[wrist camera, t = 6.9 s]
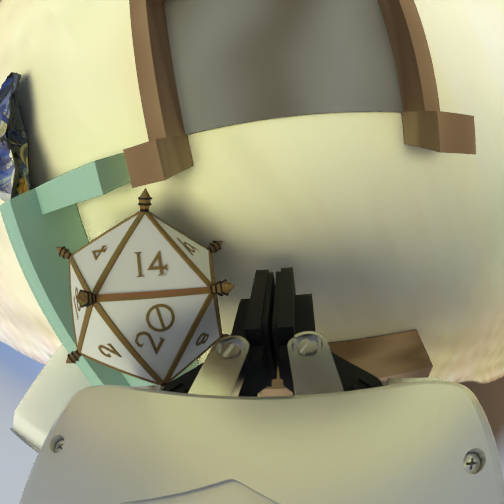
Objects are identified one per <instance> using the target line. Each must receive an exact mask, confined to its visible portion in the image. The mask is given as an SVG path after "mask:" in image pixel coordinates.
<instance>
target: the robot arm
mask: <svg viewBox="0 0 504 504" xmlns="http://www.w3.org/2000/svg"><path fill="white" fill-rule="evenodd" d="M277 369H279V375H280V379H283V385H284V386H285V387H286V388H287V389H289V390H290V391H291V392H293V396H269V397H261V395H262V393H261V391H262V390H263V389H265V388H266V387H272V379H277ZM20 504H504V478H503V473H502V467H501V463H500V458H499V454H498V450H497V447H496V442H495V439H494V436H493V433H492V430H491V427H490V425H489V422H488V420H487V417H486V415H485V413H484V411H483V408H482V407H481V405H480V403H479V401H478V399H477V398H476V396H475V395H474V394H473V393H472V392H471V390H469V389H468V388H467V387H465V386H463V385H461V384H458V383H454V382H449V381H443V380H441V379H439V378H434V377H427V378H388V379H387V381H380V379H378V378H377V377H376V376H374V375H372V374H370V373H369V372H367V371H365V370H363V369H361V368H359V367H358V366H356V365H354V364H352V363H350V362H348V361H347V360H345V359H343V358H341V357H339V356H338V355H336V354H334V353H332V352H331V351H330V348H329V345H328V342H327V340H326V338H325V337H324V336H323V335H322V334H320V333H317V332H315V321H314V311H313V302H312V294H303V295H296V293H295V283H294V274H293V267H290V268H281V272H276V283H275V280H274V274H273V272H270V273H269V270H257V271H256V274H255V279H254V283H253V288H252V293H251V298H250V299H241V300H240V303H239V307H238V311H237V315H236V318H235V322H234V326H233V330H232V334H231V335H230V336H226V337H223V338H221V339H219V340H218V341H217V342H215V344H214V345H213V346H212V348H211V350H210V352H209V354H208V356H207V358H206V360H205V362H204V363H202V364H200V365H199V366H197V367H195V368H193V369H192V370H190V371H188V372H187V373H185V374H183V375H181V376H179V377H178V378H176V379H174V380H172V381H171V382H169V383H168V384H166V385H165V386H164V387H162V386H161V385H149V386H131V387H129V386H121V385H97V386H91V387H87V388H84V389H81V390H79V391H78V392H76V393H75V394H74V395H73V396H72V397H71V398H70V400H69V401H68V402H67V404H66V405H65V406H64V408H63V409H62V411H61V412H60V414H59V416H58V417H57V419H56V421H55V423H54V424H53V426H52V428H51V430H50V431H49V433H48V435H47V437H46V439H45V441H44V443H43V446H42V448H41V450H40V452H39V454H38V456H37V458H36V460H35V463H34V465H33V468H32V470H31V473H30V475H29V478H28V480H27V483H26V486H25V488H24V491H23V494H22V498H21V501H20Z"/></svg>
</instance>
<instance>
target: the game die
mask: <svg viewBox="0 0 504 504" xmlns="http://www.w3.org/2000/svg"><path fill="white" fill-rule="evenodd" d="M138 199H139V203H138V205H140V211H139V212H137V213H136V214H134V215H132V216H131V217H129V218H127V219H126V220H124V221H122V222H121V223H119V224H117V225H116V226H114V227H112V228H111V229H109V230H108V231H106V232H105V233H103V234H101V235H100V236H98V237H97V238H95V239H94V240H92V241H91V242H89V243H88V244H86V245H85V246H83V247H82V248H80V249H79V250H77V251H76V252H74V253H71V252H70V251H69V249H67V248H65V246H64V247H56V249H57V251H58V253H59V256H60V257H61V256H62V257H63V259H68V260H69V282H70V298H71V309H72V319H73V327H74V335H75V341H76V348H77V350H76V351H72V352H71V354H68V355H67V356H68V357H67V360H66V363H74V364H76V362H77V361H79V358H80V356H84V357H86V358H88V359H91V360H93V361H95V362H97V363H100V364H102V365H104V366H107V367H109V368H112V369H114V370H117V371H119V372H122V373H125V374H127V375H130V376H133V377H135V378H138V379H141V380H144V381H147V382H150V383H153V384H156V385H161V386H162V387H164V386H165V385H166V384H168V383H169V382H171V381H172V380H173V379H174V378H176V377H177V376H178V375H179V374H180V373H182V372H183V371H184V370H185V369H186V368H187V367H189V366H190V365H191V364H192V363H193V362H194V361H195V360H197V359H198V358H199V357H200V356H201V355H202V354H203V353H205V352H206V351H207V350H208V349H209V348H210V347H211V346H213V345H214V344H215V342H217V341H218V340H219V339H221V338H223V337H226V336H229V335H228V334H225V335H223V334H222V329H221V321H220V314H219V306H218V299H217V294H218V295H220V296H223V295H227V296H228V295H229V292H230V291H231V290H232V288H233V287H234V285H232V284H231V283H229V282H227V280H226V279H225V280H223V281H222V282H221V281H219V282H217V283H215V276H214V268H213V261H212V253H213V252H214V253H215V252H217V250H220V249H221V244H222V241H213V243H212V244H211V243H210V246H209V247H208V248H206V247H204V246H203V245H201V244H200V243H198V242H196V241H195V240H193V239H192V238H190V237H189V236H187V235H185V234H184V233H182V232H181V231H179V230H177V229H176V228H174V227H173V226H171V225H170V224H168V223H166V222H165V221H163V220H162V219H160V218H159V217H157V216H155V215H154V214H152V213H151V212H149V210H148V209H149V206H150V205H151V203H150V200H151V199H152V198H151V197H150V196H149V194H148V192H147V190H146V188H145V190H144V191H143V193H142V194H141V196H140V197H139V198H138Z"/></svg>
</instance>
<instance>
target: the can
mask: <svg viewBox="0 0 504 504" xmlns="http://www.w3.org/2000/svg"><path fill="white" fill-rule="evenodd" d="M68 354H69V353H68V352H67V350H66V349H65V347H64V346H63V344H61V346H60V347H59V348H58V350H57V351H56V352H55V353H54V355H53V356H52V357H51V359H50V360H49V361H48V363H47V364H46V365H45V367H44V368H43V370H42V371H41V372H40V374H39V375H38V377H37V378H36V379H35V381H34V382H33V384H32V385H31V387H30V388H29V390H28V391H27V393H26V394H25V396H24V397H23V399H22V400H21V402H20V403H19V405H18V407H17V409H16V410H15V412H14V423H13V427H12V428H11V431H12V432H13V433H15V434H16V435H17V436H18V437H19V438H20V439H21V440H22V441H24V442H25V443H26V444H27V445H29V446H30V447H31V448H32V449H34V450H35V451H36V452H38V453H39V452H40V450H41V448H42V446H43V443H44V441H45V439H46V437H47V435H48V433H49V431H50V430H51V428H52V426H53V424H54V423H55V421H56V419H57V417H58V416H59V414H60V412H61V411H62V409H63V408H64V406H65V405H66V404H67V402H68V401H69V400H70V398H71V397H72V396H73V395H74V394H75V393H76V392H78V391H79V390H81V389H84V388H87V387H91V386H92V384H91V383H90V382H89V380H88V379H87V378H86V377H85V375H84V374H83V373H82V371H81V370H80V369H79V367H78V366H77V365H76V364H74V363H66V360H67V357H68V356H67V355H68Z"/></svg>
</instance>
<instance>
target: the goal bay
mask: <svg viewBox="0 0 504 504" xmlns="http://www.w3.org/2000/svg"><path fill="white" fill-rule="evenodd" d="M128 182H130V177H129V173H128V168H127V164H126V160H125V156H124V153H121V154H117V155H114V156H110V157H107V158H103V159H100V160H97V161H94V162H91V163H89V164H86V165H84V166H81V167H79V168H77V169H74V170H72V171H70V172H67V173H65V174H63V175H61V176H59V177H56V178H54V179H52V180H50V181H48V182H46V183H44V184H42V185H40V186H38V187H36V188H34V189H32V190H29V191H27V192H25V193H23V194H21V195H18V196H16V197H14V198H12V199H10V200H8V201H7V202H5V203H3V204H2V205H0V211H1V215H2V218H3V221H4V224H5V227H6V230H7V233H8V236H9V239H10V241H11V244H12V247H13V249H14V252H15V254H16V257H17V259H18V262H19V264H20V266H21V269H22V271H23V273H24V275H25V278H26V280H27V282H28V284H29V286H30V288H31V290H32V292H33V294H34V296H35V298H36V300H37V302H38V304H39V306H40V307H41V309H42V311H43V313H44V315H45V316H46V318H47V320H48V322H49V323H50V325H51V327H52V328H53V330H54V332H55V333H56V335H57V336H58V338H59V340H60V341H61V343H62V344H63V346H64V347H65V349H66V350H67V352H68V353H69V354H71V352H72V351H76V350H77V348H76V341H75V335H74V327H73V319H72V309H71V298H70V282H69V260H68V259H63V257H62V256H61V257H60V256H59V253H58V251H57V249H56V247H64V246H65V248H67V249H69V251H70V252H71V253H74V252H76V251H77V250H79V249H80V248H82V247H83V246H85V245H86V244H88V243H89V242H88V239H87V237H86V234H85V231H84V228H83V225H82V222H81V219H80V216H79V213H78V210H77V206H76V203H78V202H81V201H84V200H87V199H91V198H94V197H97V196H100V195H104V194H106V193H108V192H110V191H112V190H114V189H116V188H118V187H120V186H122V185H124V184H126V183H128ZM198 364H199V363H198V360H195V361H194V362H193V363H192V364H191V365H190V366H189V367H187V368H186V369H185V370H184V371H183V372H182V373H180V374H179V375H178V376H177V377H176V378H178V377H179V376H181V375H183V374H185V373H187V372H188V371H190V370H192V369H193V368H195V367H197V366H198ZM76 365H77V366H78V367H79V369H80V370H81V371H82V373H83V374H84V375H85V377H86V378H87V379H88V380H89V382H90V383H91V384H92V386H97V385H121V386H129V387H130V386H149V385H156V384H153V383H150V382H147V381H144V380H141V379H138V378H135V377H133V376H130V375H127V374H125V373H122V372H119V371H117V370H114V369H112V368H109V367H107V366H104V365H102V364H100V363H97V362H95V361H93V360H91V359H88V358H86V357H84V356H80V358H79V361H77V362H76ZM176 378H174V379H176ZM174 379H173V380H174Z"/></svg>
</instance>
